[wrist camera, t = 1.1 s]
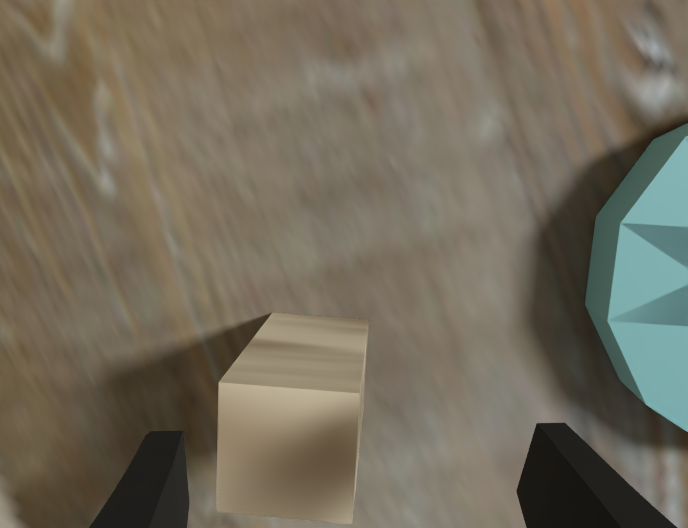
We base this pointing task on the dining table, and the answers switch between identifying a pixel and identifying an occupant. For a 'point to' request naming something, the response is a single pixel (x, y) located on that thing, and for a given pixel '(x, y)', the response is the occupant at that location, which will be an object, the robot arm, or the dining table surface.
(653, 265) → the bead ring
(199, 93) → the dining table surface
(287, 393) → the ash peg
